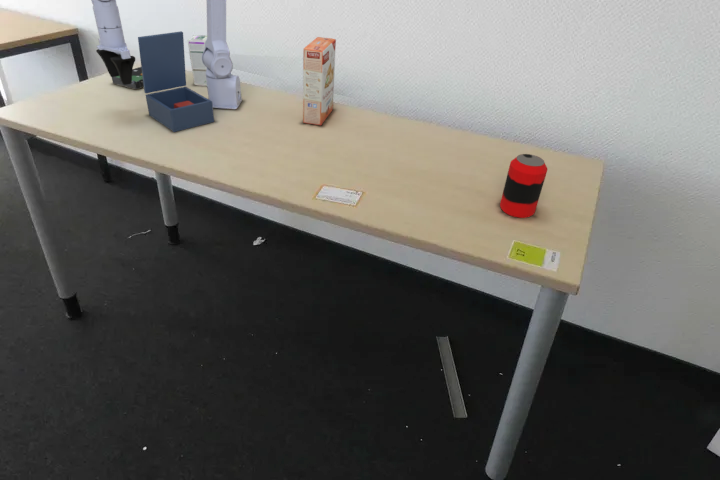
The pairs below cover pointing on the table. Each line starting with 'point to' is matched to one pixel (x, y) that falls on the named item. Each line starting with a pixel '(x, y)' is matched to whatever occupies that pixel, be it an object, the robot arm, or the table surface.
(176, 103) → the block
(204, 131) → the table surface
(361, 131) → the table surface
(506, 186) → the soda can
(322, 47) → the cracker box
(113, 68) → the robot arm
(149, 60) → the lid
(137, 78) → the disk drive
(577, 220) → the table surface
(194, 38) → the syrup box
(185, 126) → the toy box
